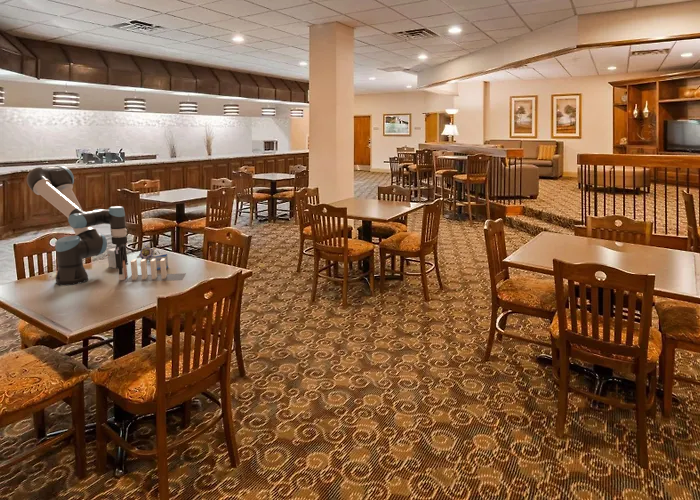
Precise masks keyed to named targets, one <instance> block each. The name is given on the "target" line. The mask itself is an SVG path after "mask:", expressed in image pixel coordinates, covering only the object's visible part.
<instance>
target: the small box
mask: <svg viewBox="0 0 700 500" xmlns="http://www.w3.org/2000/svg"><path fill="white" fill-rule="evenodd" d="M115 248H116V247H113V248H109V249H106V253H107V254H106V255H107V262H108V263H107V264H108V267H109V268H113V269H116V259H115V252H114V250H115Z"/></svg>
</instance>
